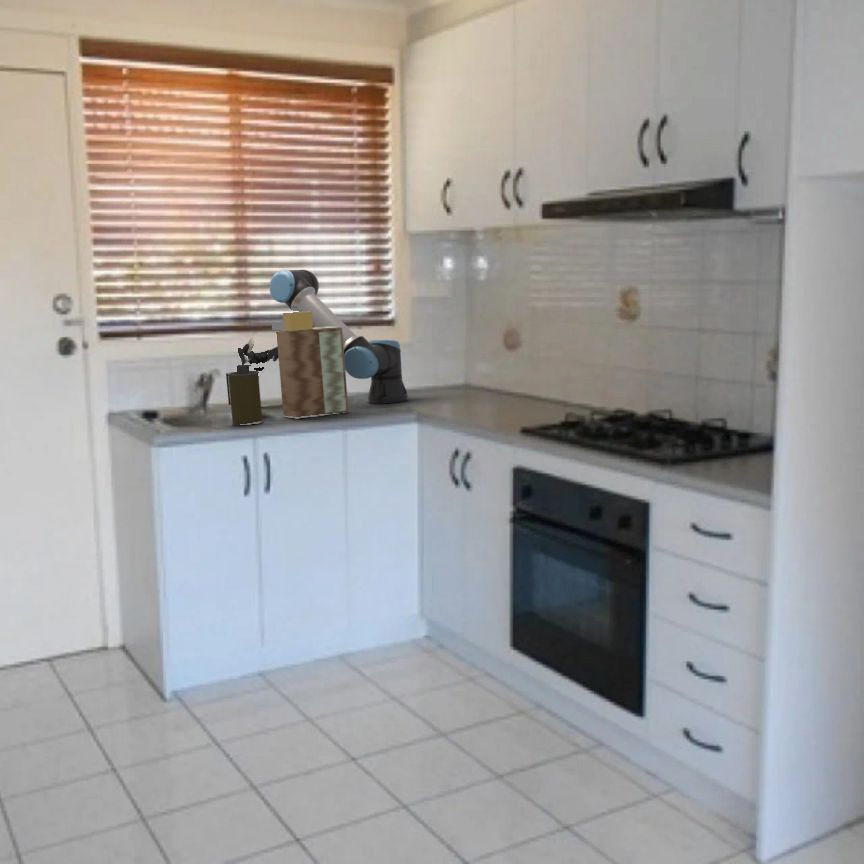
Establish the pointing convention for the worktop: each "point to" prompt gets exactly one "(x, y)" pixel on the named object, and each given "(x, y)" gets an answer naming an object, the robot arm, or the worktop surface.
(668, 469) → the worktop surface
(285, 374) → the wood grain box
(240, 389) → the canister
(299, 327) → the handle bar
